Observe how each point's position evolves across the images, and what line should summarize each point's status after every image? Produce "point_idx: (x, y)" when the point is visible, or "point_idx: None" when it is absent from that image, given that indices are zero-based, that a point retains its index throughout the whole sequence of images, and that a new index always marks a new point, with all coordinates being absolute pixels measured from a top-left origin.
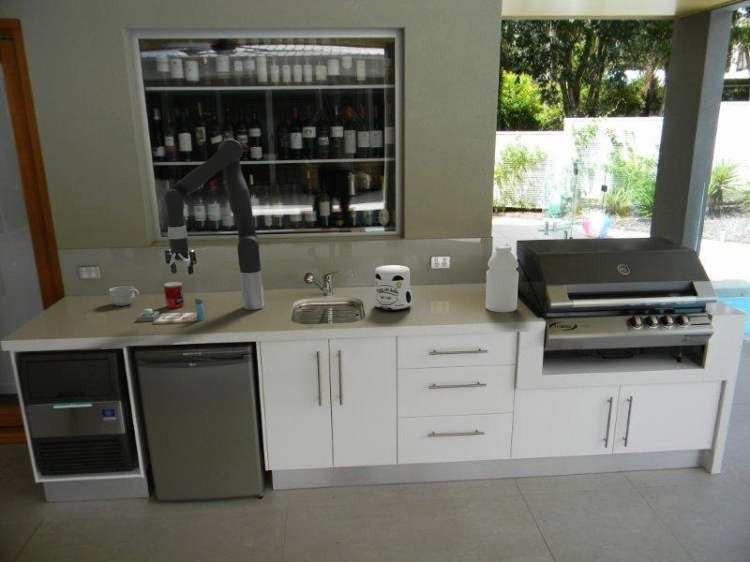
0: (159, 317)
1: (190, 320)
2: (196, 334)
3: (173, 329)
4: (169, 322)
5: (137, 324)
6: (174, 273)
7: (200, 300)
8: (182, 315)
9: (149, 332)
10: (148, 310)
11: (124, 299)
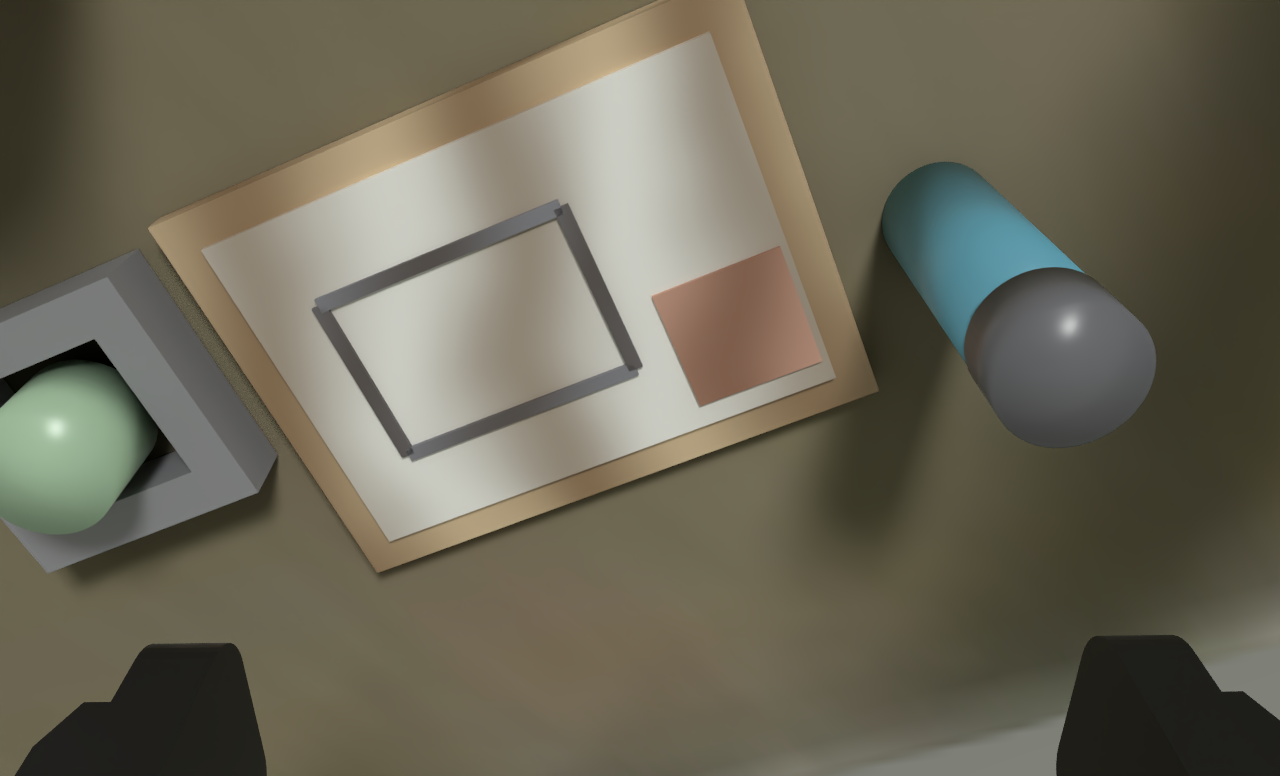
0: (286, 394)
1: (855, 370)
2: None
3: (787, 619)
4: (585, 491)
5: (193, 614)
6: (261, 747)
7: (1131, 394)
8: (585, 232)
9: (576, 754)
10: (92, 501)
11: None
